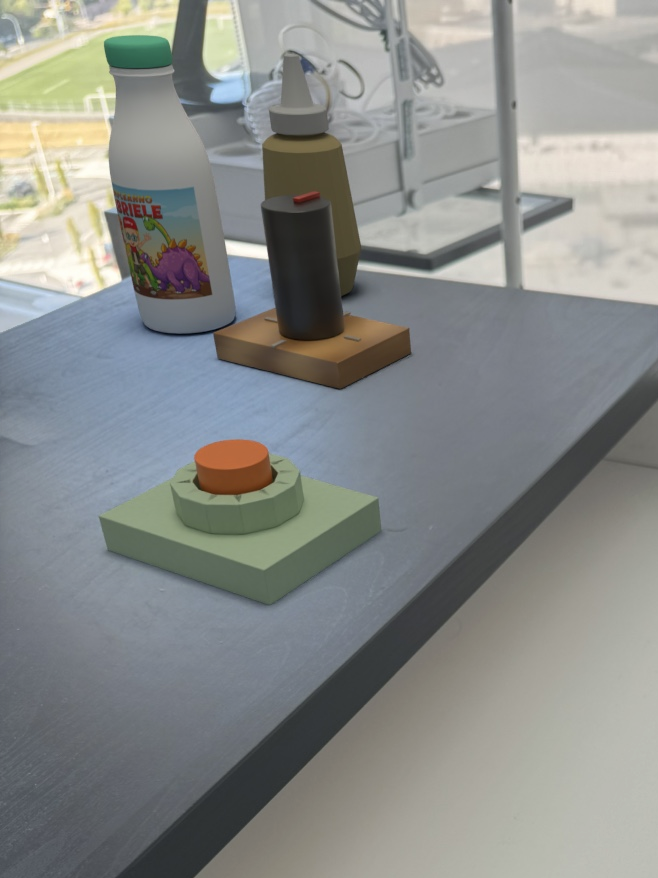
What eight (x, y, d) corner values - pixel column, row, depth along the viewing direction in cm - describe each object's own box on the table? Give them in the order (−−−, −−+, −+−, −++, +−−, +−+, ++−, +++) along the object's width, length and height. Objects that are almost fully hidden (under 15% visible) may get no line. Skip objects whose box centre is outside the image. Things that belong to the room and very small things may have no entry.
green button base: (107, 550, 67) (89, 485, 64) (227, 485, 74) (216, 424, 71) (270, 606, 62) (258, 538, 60) (382, 531, 69) (375, 467, 67)
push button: (184, 488, 65) (178, 458, 64) (233, 462, 68) (228, 433, 67) (239, 505, 64) (234, 474, 62) (287, 478, 66) (283, 448, 65)
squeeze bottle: (256, 299, 102) (218, 59, 90) (300, 273, 108) (270, 44, 96) (340, 310, 100) (313, 66, 89) (380, 283, 106) (360, 51, 95)
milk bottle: (180, 301, 101) (126, 27, 88) (255, 313, 99) (212, 35, 86) (121, 328, 95) (55, 40, 83) (200, 341, 93) (145, 49, 81)
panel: (216, 359, 90) (211, 330, 89) (293, 325, 97) (289, 298, 95) (339, 390, 86) (336, 360, 85) (412, 353, 92) (410, 325, 91)
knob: (316, 344, 88) (299, 210, 82) (265, 332, 89) (244, 200, 83) (357, 326, 91) (344, 196, 85) (307, 314, 93) (290, 186, 87)
